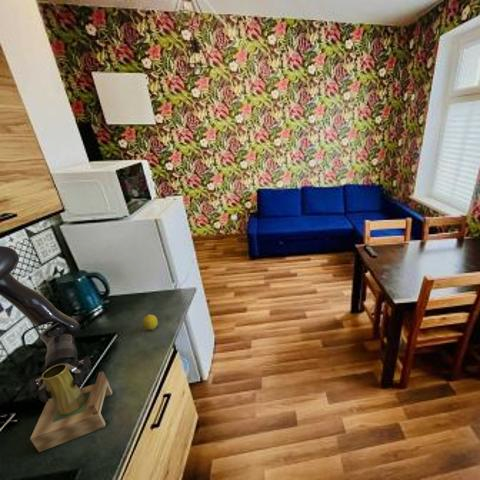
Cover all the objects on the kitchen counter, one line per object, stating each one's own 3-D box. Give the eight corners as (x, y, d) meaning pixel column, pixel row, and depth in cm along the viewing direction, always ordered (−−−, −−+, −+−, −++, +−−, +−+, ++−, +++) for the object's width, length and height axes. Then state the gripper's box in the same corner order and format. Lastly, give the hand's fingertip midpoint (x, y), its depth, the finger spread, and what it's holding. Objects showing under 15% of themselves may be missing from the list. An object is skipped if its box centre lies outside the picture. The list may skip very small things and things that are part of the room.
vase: (56, 407, 80) (36, 373, 74) (81, 392, 85) (64, 358, 79) (62, 419, 77) (42, 384, 71) (88, 402, 81) (71, 368, 76)
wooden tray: (39, 452, 74) (23, 429, 70) (55, 412, 85) (42, 390, 81) (104, 426, 81) (93, 404, 77) (112, 392, 91) (103, 371, 88)
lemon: (143, 329, 120) (138, 315, 117) (156, 323, 124) (152, 309, 120) (148, 335, 116) (143, 321, 113) (161, 328, 120) (157, 314, 117)
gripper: (25, 361, 81) (20, 399, 70) (85, 338, 90) (90, 368, 79) (35, 379, 84) (32, 418, 73) (93, 354, 93) (98, 386, 82)
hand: (62, 392), depth 76 cm, fingers open, 6 cm apart
